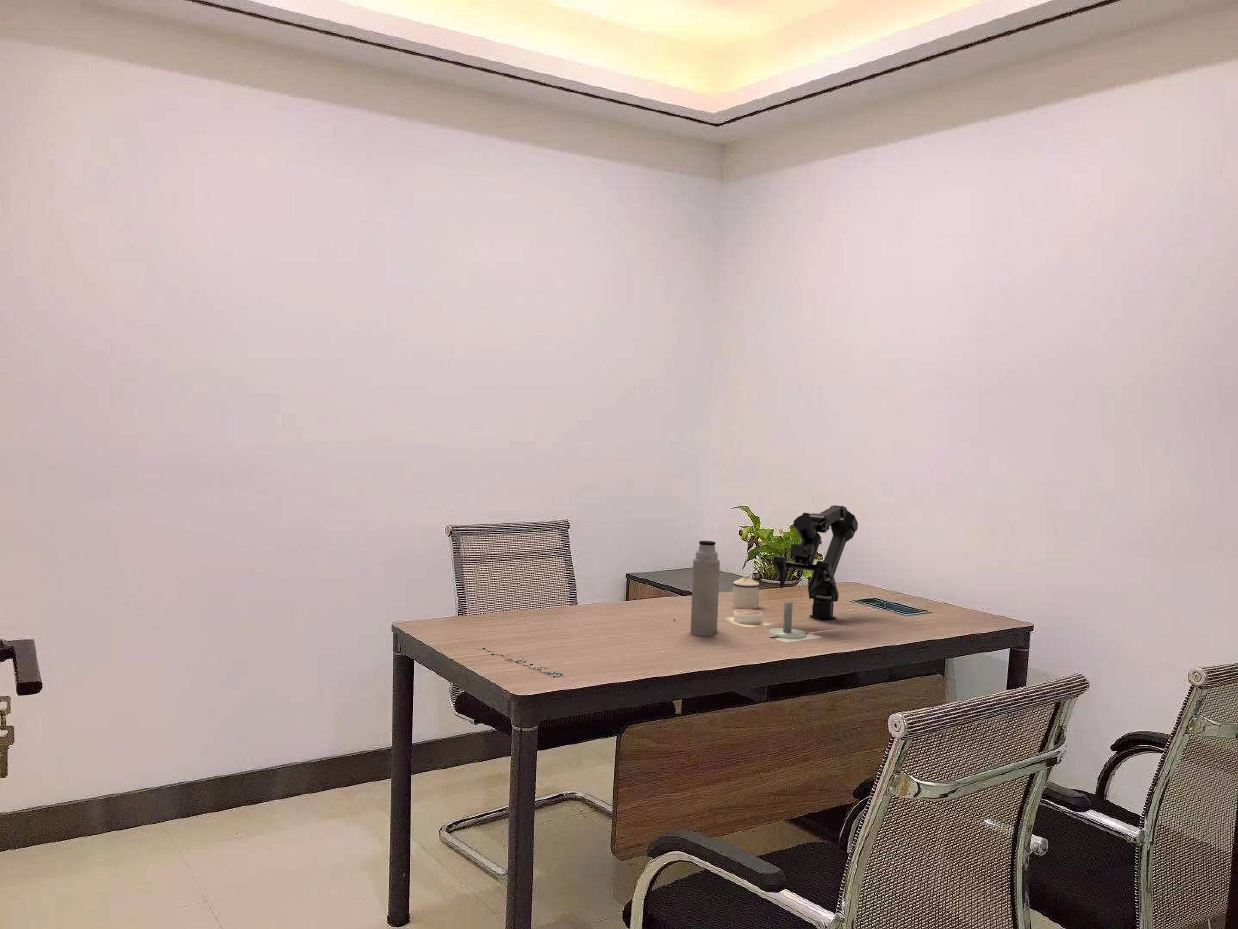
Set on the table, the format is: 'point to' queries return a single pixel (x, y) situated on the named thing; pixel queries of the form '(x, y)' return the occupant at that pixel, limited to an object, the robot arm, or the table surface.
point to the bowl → (748, 616)
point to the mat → (808, 636)
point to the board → (731, 620)
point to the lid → (787, 625)
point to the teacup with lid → (745, 593)
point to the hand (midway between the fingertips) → (794, 589)
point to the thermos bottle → (705, 590)
